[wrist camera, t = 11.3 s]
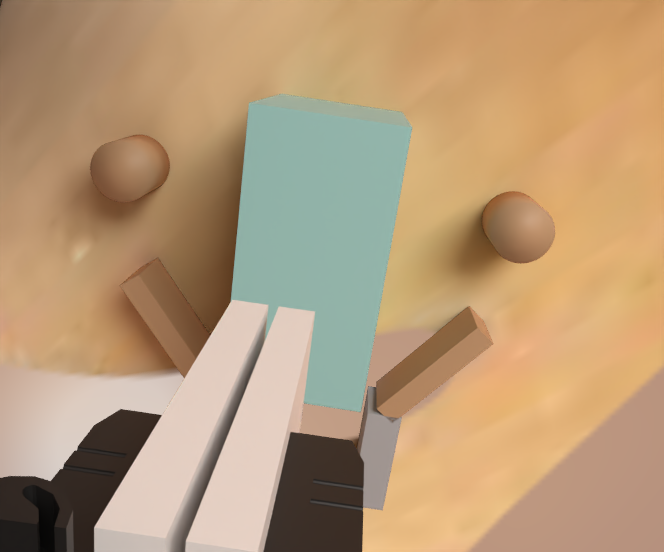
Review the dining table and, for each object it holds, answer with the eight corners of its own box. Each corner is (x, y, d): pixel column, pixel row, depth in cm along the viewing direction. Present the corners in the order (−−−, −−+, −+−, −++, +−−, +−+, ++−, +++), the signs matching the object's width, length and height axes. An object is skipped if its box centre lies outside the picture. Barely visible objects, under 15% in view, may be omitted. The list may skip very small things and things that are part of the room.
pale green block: (257, 315, 28) (222, 390, 22) (281, 93, 25) (248, 102, 18) (363, 331, 28) (360, 412, 22) (402, 111, 25) (412, 127, 18)
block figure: (109, 433, 31) (88, 463, 29) (115, 131, 26) (90, 137, 24) (468, 491, 31) (476, 525, 28) (545, 196, 26) (562, 208, 23)
